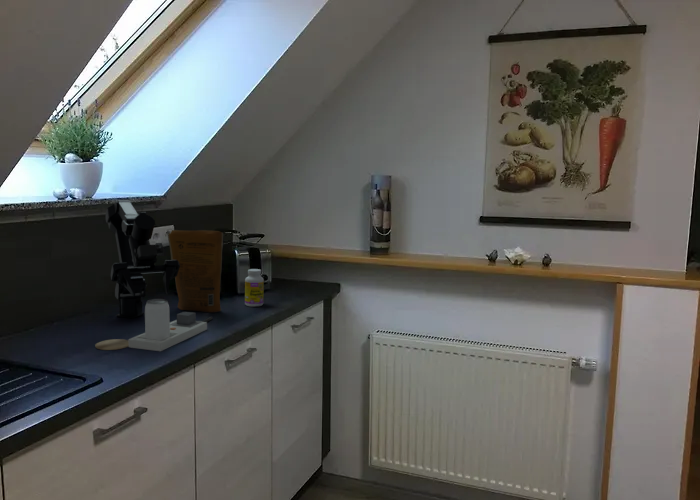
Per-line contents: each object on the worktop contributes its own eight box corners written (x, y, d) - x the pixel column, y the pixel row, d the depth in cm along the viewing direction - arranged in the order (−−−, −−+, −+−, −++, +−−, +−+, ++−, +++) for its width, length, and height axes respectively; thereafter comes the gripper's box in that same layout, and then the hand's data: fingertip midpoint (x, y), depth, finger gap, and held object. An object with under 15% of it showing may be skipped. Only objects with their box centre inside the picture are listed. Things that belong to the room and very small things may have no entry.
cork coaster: (87, 347, 162) (87, 346, 162) (110, 339, 170) (110, 337, 170) (116, 351, 159) (116, 350, 159) (137, 342, 168) (137, 341, 168)
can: (162, 347, 164) (161, 304, 162) (140, 345, 165) (140, 302, 164) (174, 341, 170) (173, 299, 169) (153, 339, 171) (152, 298, 170)
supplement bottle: (248, 307, 213) (248, 271, 211) (242, 303, 219) (242, 268, 217) (266, 306, 216) (266, 270, 214) (260, 302, 222) (260, 268, 220)
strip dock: (128, 347, 163) (128, 338, 163) (178, 326, 186) (178, 318, 186) (160, 351, 161) (160, 342, 160) (207, 329, 183) (207, 321, 183)
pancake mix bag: (219, 314, 202) (218, 231, 198) (167, 310, 206) (166, 228, 202) (227, 310, 208) (227, 229, 205) (177, 306, 213) (176, 227, 209)
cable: (198, 327, 185) (198, 324, 185) (195, 327, 186) (195, 323, 185) (213, 319, 196) (213, 316, 195) (210, 319, 196) (210, 316, 196)
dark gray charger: (176, 324, 180) (176, 314, 179) (184, 321, 184) (184, 311, 183) (188, 325, 179) (188, 315, 178) (195, 322, 182) (195, 312, 182)
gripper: (111, 234, 169) (120, 280, 161) (177, 232, 179) (189, 275, 171) (107, 258, 177) (115, 303, 169) (171, 255, 187) (181, 297, 179)
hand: (151, 294), depth 172 cm, fingers open, 9 cm apart
